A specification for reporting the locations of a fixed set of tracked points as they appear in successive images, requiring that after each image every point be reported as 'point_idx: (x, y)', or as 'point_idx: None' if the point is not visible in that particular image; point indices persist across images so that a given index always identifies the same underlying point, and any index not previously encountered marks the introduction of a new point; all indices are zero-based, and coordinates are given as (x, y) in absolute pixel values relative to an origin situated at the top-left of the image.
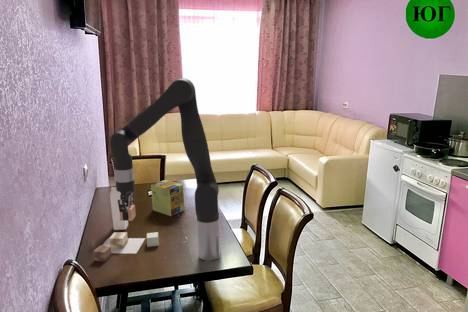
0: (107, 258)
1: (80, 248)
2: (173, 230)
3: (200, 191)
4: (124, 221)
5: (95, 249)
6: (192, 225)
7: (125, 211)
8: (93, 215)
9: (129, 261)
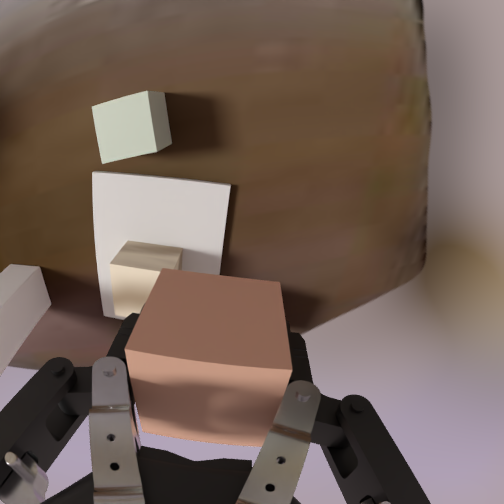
0: None
1: None
2: (29, 71)
3: None
4: (21, 287)
5: None
6: (8, 13)
7: (371, 406)
8: None
9: (286, 204)
